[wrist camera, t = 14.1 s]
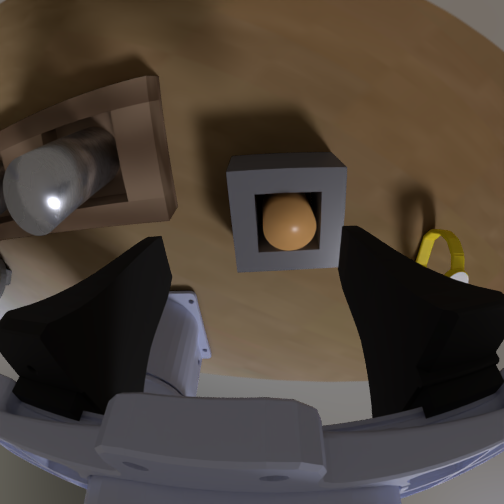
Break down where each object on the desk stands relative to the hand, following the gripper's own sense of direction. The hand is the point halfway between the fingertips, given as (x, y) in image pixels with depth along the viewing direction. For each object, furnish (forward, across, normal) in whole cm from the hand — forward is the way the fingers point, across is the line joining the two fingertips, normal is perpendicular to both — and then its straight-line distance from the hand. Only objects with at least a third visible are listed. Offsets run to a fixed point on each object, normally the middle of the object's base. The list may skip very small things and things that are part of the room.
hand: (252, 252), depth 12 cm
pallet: (+10, +18, -3) cm, 21 cm away
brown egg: (+9, -2, +2) cm, 10 cm away
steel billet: (+10, +12, -3) cm, 16 cm away
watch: (+11, -15, +7) cm, 20 cm away
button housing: (+10, -2, +2) cm, 11 cm away
